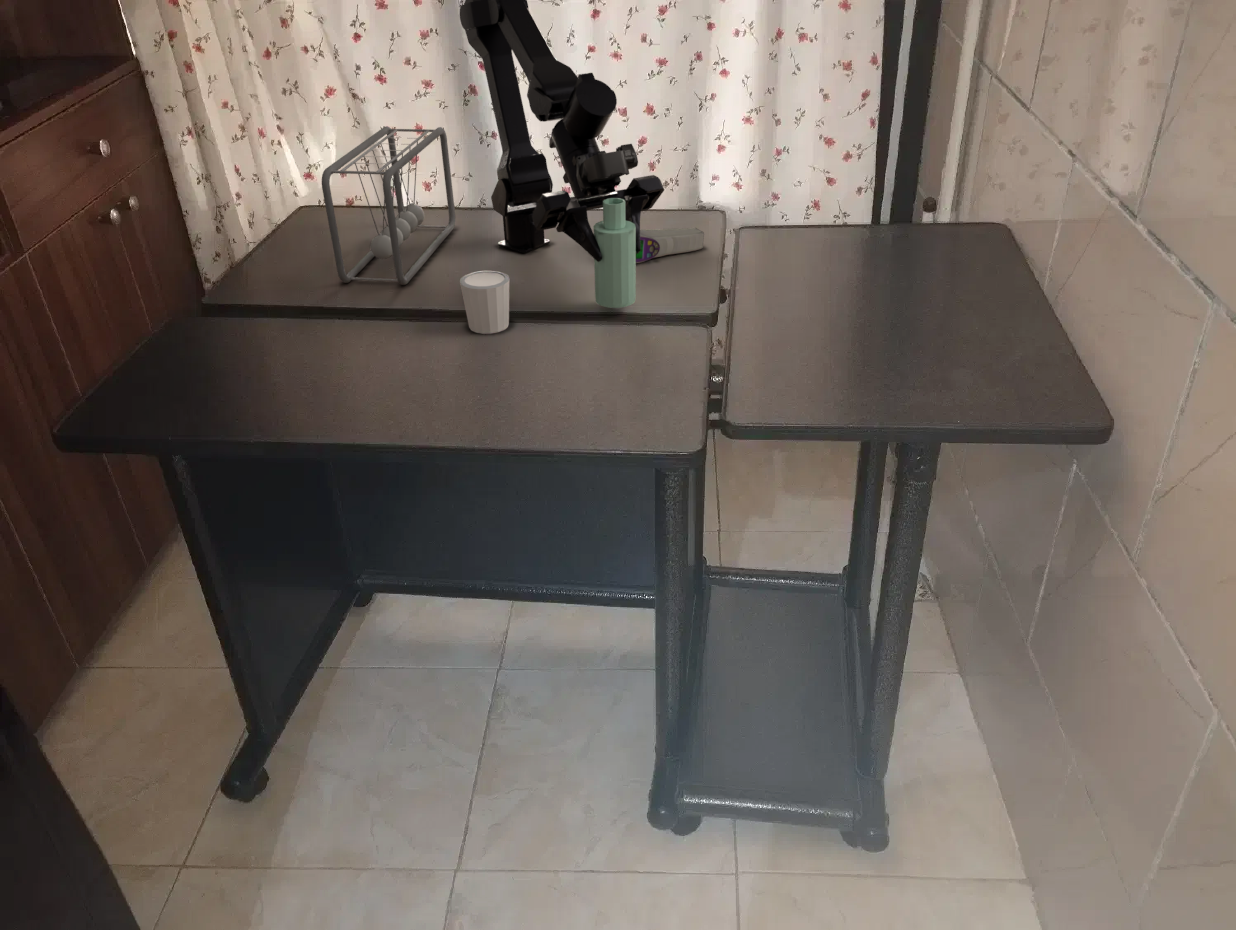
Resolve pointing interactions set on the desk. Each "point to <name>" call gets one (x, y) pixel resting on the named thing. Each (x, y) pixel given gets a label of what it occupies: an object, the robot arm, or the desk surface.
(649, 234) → the infrared thermometer
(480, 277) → the shot glass
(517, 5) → the robot arm
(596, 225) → the water bottle
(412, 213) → the newton's cradle
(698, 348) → the desk surface
